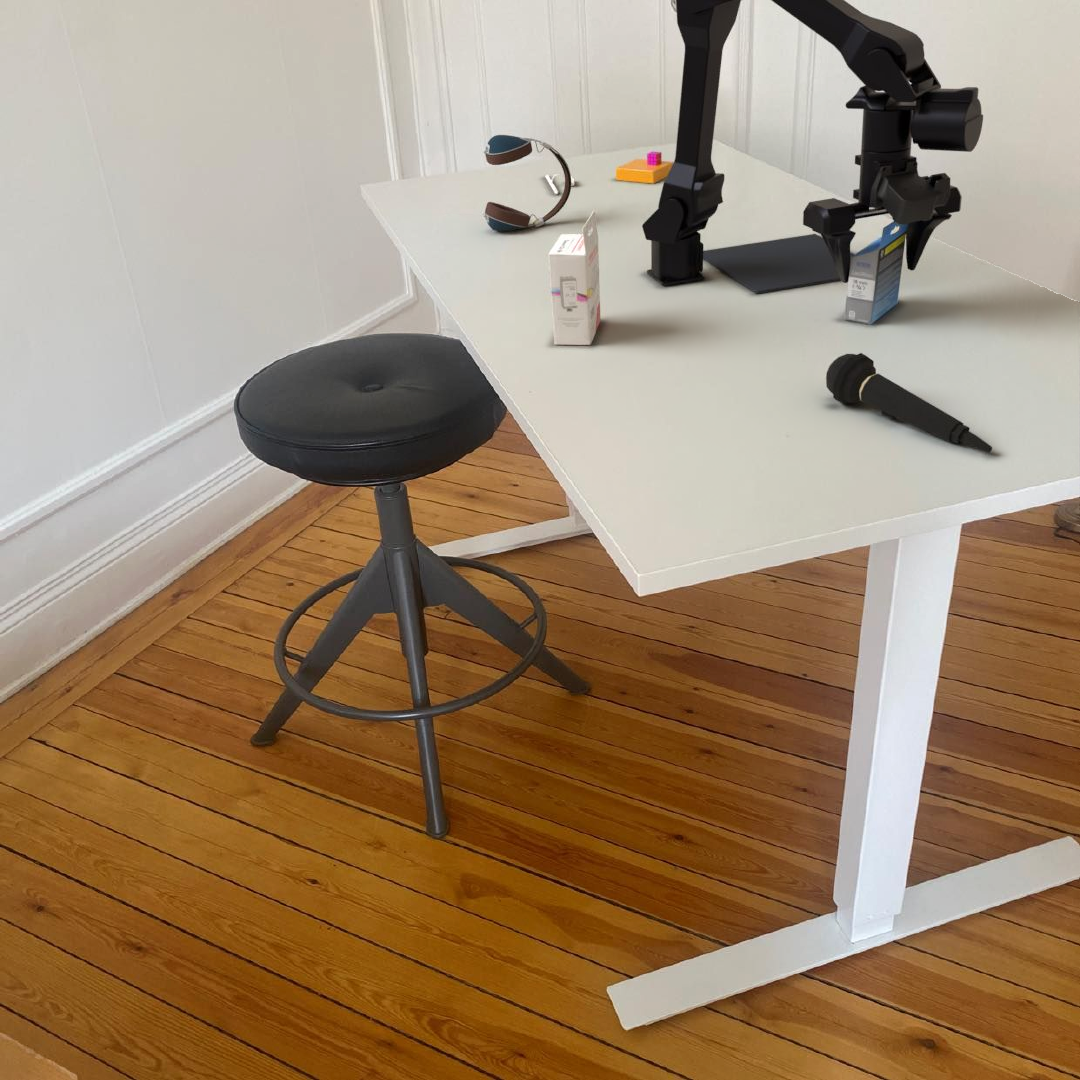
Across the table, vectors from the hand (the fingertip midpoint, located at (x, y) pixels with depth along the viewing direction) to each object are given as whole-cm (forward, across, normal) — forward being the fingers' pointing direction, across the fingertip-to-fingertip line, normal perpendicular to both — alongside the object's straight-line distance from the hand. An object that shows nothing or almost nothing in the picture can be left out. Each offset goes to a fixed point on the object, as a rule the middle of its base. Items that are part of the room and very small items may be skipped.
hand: (877, 275), depth 141 cm
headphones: (+2, -33, +59) cm, 68 cm away
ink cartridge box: (+4, -37, +9) cm, 39 cm away
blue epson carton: (+5, 0, +1) cm, 5 cm away
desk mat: (+4, 0, +23) cm, 24 cm away
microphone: (+6, -15, -29) cm, 33 cm away
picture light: (+2, -16, +84) cm, 85 cm away
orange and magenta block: (+2, 0, +82) cm, 82 cm away
